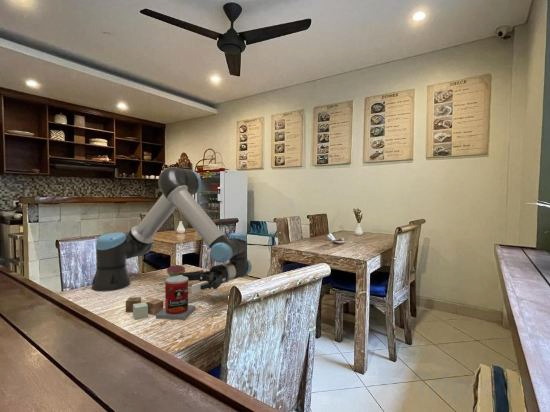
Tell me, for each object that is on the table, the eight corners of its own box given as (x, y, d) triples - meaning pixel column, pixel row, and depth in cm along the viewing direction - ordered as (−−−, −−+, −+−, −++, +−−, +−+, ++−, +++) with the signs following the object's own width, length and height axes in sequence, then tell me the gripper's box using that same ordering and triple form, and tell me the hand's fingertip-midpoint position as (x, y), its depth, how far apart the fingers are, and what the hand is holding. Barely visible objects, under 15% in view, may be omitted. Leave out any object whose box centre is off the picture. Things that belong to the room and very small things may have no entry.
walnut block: (125, 312, 105) (125, 301, 105) (129, 308, 109) (129, 297, 109) (137, 312, 105) (137, 300, 105) (140, 307, 109) (140, 297, 109)
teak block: (146, 313, 104) (146, 302, 104) (155, 309, 108) (155, 298, 108) (154, 315, 103) (154, 304, 102) (163, 311, 106) (163, 300, 106)
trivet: (155, 318, 100) (155, 314, 100) (169, 307, 110) (169, 304, 110) (184, 319, 99) (184, 316, 99) (195, 308, 109) (195, 305, 109)
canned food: (166, 315, 99) (167, 283, 99) (163, 307, 106) (163, 277, 106) (190, 312, 103) (190, 280, 102) (185, 304, 110) (186, 274, 109)
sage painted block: (135, 319, 99) (135, 308, 99) (133, 315, 102) (132, 304, 102) (147, 317, 101) (147, 305, 101) (145, 313, 104) (145, 302, 104)
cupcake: (181, 282, 142) (181, 257, 141) (163, 281, 142) (163, 256, 141) (187, 277, 150) (187, 253, 150) (170, 277, 150) (170, 253, 150)
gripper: (245, 288, 115) (203, 304, 98) (201, 277, 129) (158, 289, 112) (245, 268, 115) (203, 281, 98) (201, 260, 129) (158, 269, 112)
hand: (179, 285), depth 105 cm, fingers open, 13 cm apart
